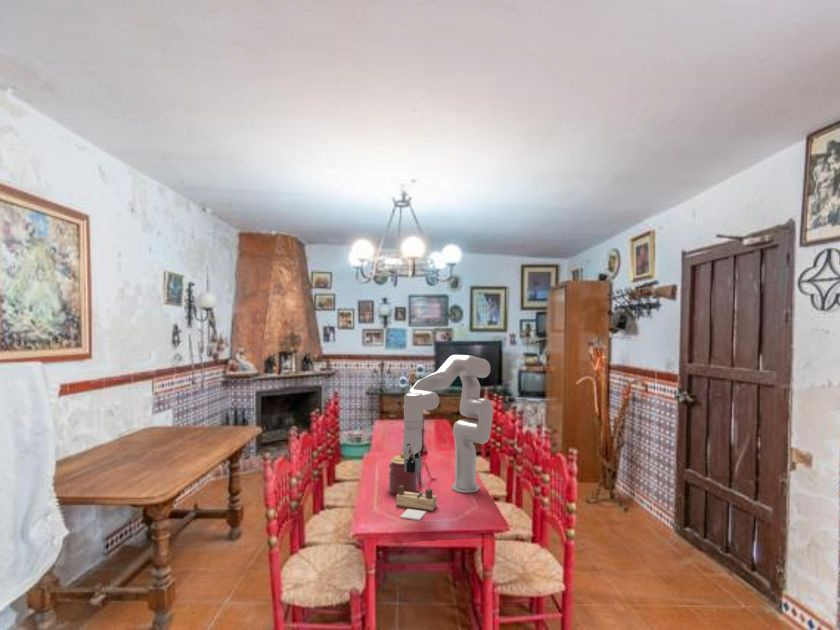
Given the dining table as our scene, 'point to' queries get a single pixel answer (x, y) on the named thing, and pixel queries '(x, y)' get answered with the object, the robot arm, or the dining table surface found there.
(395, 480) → the canister
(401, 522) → the dining table surface
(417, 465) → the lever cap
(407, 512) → the felt pad
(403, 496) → the plane body
